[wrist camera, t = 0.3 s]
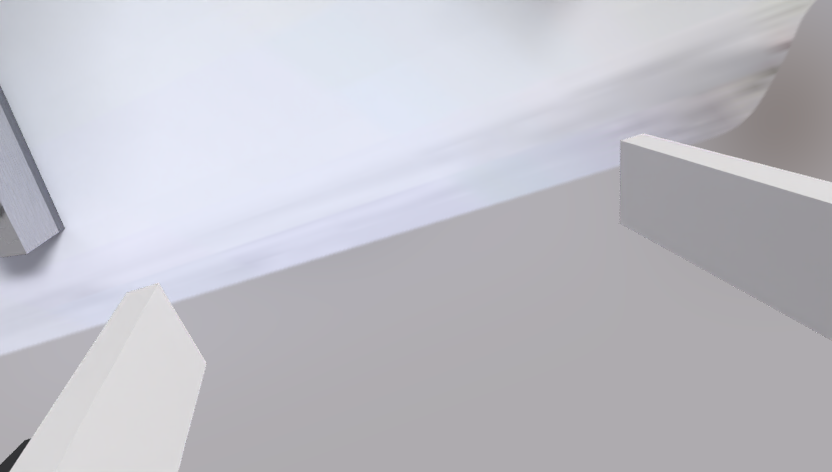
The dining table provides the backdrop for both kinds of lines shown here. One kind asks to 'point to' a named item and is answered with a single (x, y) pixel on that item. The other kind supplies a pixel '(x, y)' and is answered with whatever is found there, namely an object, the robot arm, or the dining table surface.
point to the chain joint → (21, 193)
